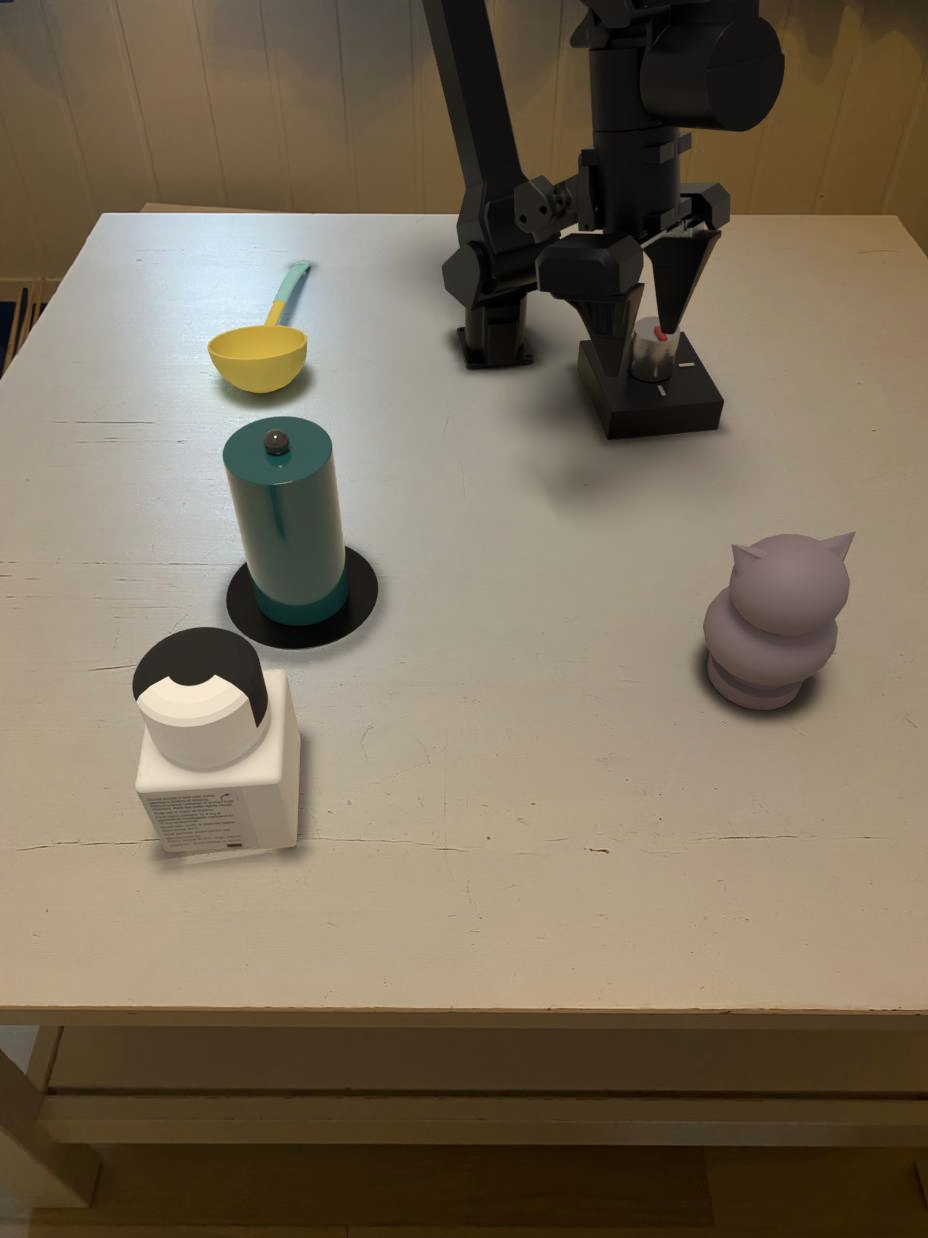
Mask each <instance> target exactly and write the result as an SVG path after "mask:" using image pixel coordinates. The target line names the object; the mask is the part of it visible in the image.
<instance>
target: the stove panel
mask: <svg viewBox="0 0 928 1238" xmlns="http://www.w3.org/2000/svg"><path fill="white" fill-rule="evenodd" d="M631 339H632V337H631ZM578 342H579V343H578V353H577V361H576V370H577V373H578V375H579V377H580V380H581V382H582V384H583V386H584V390H585V391H586V393H587V396H588V398H589V400H590V403H591V405H592V407H593V411H594V412H595V414H596V417H597V419H598V421H599V424H600V426H601V428H602V430H603V433H604V435H605V437H606V439H607V441H614V440H624V439H633V438H643V437H653V436H663V435H670V434H671V435H673V434H681V433H682V434H683V433H692V432H693V433H694V432H701V431H712V430H718V428H719V424H720V419H721V416H722V412H723V408H724V404H725V399H724V398H723V396H722V394H721V393H720V391H719V389H718V387H717V385H716V384H715V382H714V380H713V379H712V377H711V374H709V372H708V371H707V368H706V367H705V365H704V364H703V361H702V360H701V358H700V356H699V354H698V353H697V351H696V350H695V348H694V347H693V345H692V343H691V341H690V340H689V338H688V336H687V335H686V333H685V331H680V337H679V342H678V347H677V352H676V357H675V362H674V367H673V371H672V374H671V376H670V377H669V378H667V379H665V380H663V381H658V382H647V381H642V380H639V379H637V378H635V377H633V376H632V375H631V374H630V373H629V371H628V369H627V364H628V358H629V351H630V345H631V341H630V345H629V349H628V353H627V356H626V360H625V363H624V366H623V369H622V373H621V375H620V376H619V377H608V376H606V375H605V373H604V371H603V368H602V366H601V364H600V361H599V359H598V356H597V354H596V351H595V349H594V346H593V344H592V341H591V339H583V340H579V341H578Z"/></svg>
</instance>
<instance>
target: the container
mask: <svg viewBox="0 0 928 1238" xmlns="http://www.w3.org/2000/svg"><path fill="white" fill-rule="evenodd" d="M131 683H132V687H131V690H132V695H133V698H134V700H135V703H136V705H137V708H138V710H139V712H140V715H141V717H142V721H143V722H144V724H145V725H144V731H143V736H142V742H141V748H140V754H139V761H138V767H137V773H136V777H135V778H136V779H135V783H134V784H135V785H134V788H135V792H136V794H137V796H138V798H139V800H140V803H141V804H142V806H143V809H144V810H145V812H146V814H147V817H148V819H149V821H150V823H151V825H152V827H153V829H154V831H155V833H156V835H157V837H158V840H159V842H160V844H161V845H162V848H163V850H164V851H165V852H168V853H179V852H190V851H191V852H192V851H203V850H204V851H206V850H218V849H219V850H220V849H226V850H221V851H219V853H226V852H227V853H228V852H241V851H254V850H257V851H258V850H270V849H285V848H292V847H295V846H296V845H297V844H298V839H297V838H298V826H299V825H298V823H299V798H300V797H299V793H300V768H301V766H300V765H301V764H300V763H301V734H300V730H299V724H298V720H297V715H296V711H295V706H294V701H293V696H292V692H291V688H290V683H289V678H288V673H287V672H286V670H285V669H282V668H273V669H270V668H269V669H263V668H262V665H261V660H260V657H259V654H258V652H257V650H256V648H255V647H254V646H253V645H252V644H251V642H250V641H249V640H248V639H246V638H245V637H244V636H242V635H241V634H239V633H236V632H234V631H231V630H229V629H226V628H225V629H224V628H220V627H214V626H198V627H197V626H196V627H192V628H186V629H183V630H179V631H177V632H174V633H172V634H170V635H168V636H165V637H164V638H162V639H161V640H159V641H158V642H157V643H155V644H154V645H153V646H152V647H151V648H150V649H149V650H148V651H147V652H146V653H145V654H144V656H143V657H142V658H141V660H140V661H139V662H138V664H137V666H136V668H135V670H134V674H133V676H132V682H131ZM231 848H232V849H231ZM234 848H235V849H234ZM236 848H237V849H236ZM212 853H213V854H214V853H216V851H214V852H212Z"/></svg>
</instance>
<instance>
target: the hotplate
mask: <svg viewBox="0 0 928 1238" xmlns="http://www.w3.org/2000/svg"><path fill="white" fill-rule="evenodd" d="M345 554H346V562H347V570H348V579H349V595H348V598H347V600H346V602H345V604H344V605H343V606H342V608H341V609H340V610H339V611H338V612H336V613H335V614H334V615H333V616H331V617H329V618H328V619H326V620H324V621H321V622H319V623H315V624H312V625H306V626H290V625H284V624H280V623H278V622H275V621H273V620H271V619H269V618H268V617H267V616H265V615H264V614H263V613H262V612H261V610H260V609H259V607H258V605H257V603H256V600H255V595H254V591H253V587H252V582H251V578H250V574H249V570H248V565H247V561H245V562H244V563H243V564H241V566H239V568H238V569H237V570H236V572H235V573H234V575H233V576H232V577H231V579H230V581H229V584H228V587H227V591H226V599H225V604H226V611H227V613H228V617H229V618H230V621H231V622H232V624H233V625H234V626H235V627H236V629H238V631H240V632H241V634H242V635H243V636H246V637H247V638H248V639H250V640H251V641H253V642H255V643H258V644H260V645H263V646H265V647H269V648H274V649H278V650H286V651H303V650H310V649H311V650H312V649H317V648H320V647H324V646H327V645H330V644H333V643H335V642H338V641H340V640H341V639H344V638H345V637H347V636H349V635H350V634H352V633H353V632H355V631H356V630H357V629H358V628H359V627H361V626H362V625H363V624H364V623H365V621H367V619H368V618H369V617H370V615H371V614H372V612H373V610H374V609H375V606H376V604H377V600H378V597H379V582H378V577H377V574H376V573H375V570H374V568H373V566H372V565H371V564H370V562H369V561H368V560H367V559H366V558H365V557H364V556H363V555H362V554H360V553H359V552H358V551H356V550H355V549H353V548H351V547H349V546H346V545H345Z"/></svg>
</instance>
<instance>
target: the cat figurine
mask: <svg viewBox="0 0 928 1238" xmlns="http://www.w3.org/2000/svg"><path fill="white" fill-rule="evenodd" d="M856 533H857V531H856V530H855V531H852V532H851V531H850V532H848V533H844V534H840V535H836V536H833V537H829V538H825V539H821V540H819V539H817V538H814V537H812V536H809V535H804V534H798V533H781V534H776V535H770V536H767V537H764V538H763V539H760V540H759V541H756V542H754V543H752V544H751V545H749V546H746V545H740V544H735V543H731V544H730V545H731V550H732V556H733V561H734V564H733V566H732V570H731V573H730V576H729V581H728V586H726V587H724V588H723V589H722V590H721V591H720V592H719V593H718V594H717V595H716V596H715V597H714V599H712V600H711V602H710V603H709V605H708V607H707V608H706V612H705V616H704V620H703V623H702V630H703V635H704V640H705V644H706V645H705V646H706V648H707V649H708V651H709V655H708V659H707V663H706V670H707V674H708V678H709V680H710V682H711V684H712V686H713V687H714V688H715V690H716V691H718V693H720V695H722V696H723V697H724V698H725V699H726V700H728V701H730V702H732V703H734V704H736V705H738V706H739V707H743V708H747V709H750V710H753V711H772V710H776V709H779V708H782V707H785V706H786V705H788V704H789V703H791V702H792V701H794V699H795V698H796V696H797V694H799V691H800V689H801V687H802V685H803V683H804V681H805V680H806V679H808V678H810V677H811V676H813V675H815V674H816V673H818V672H819V671H820V670H821V669H823V668H824V667H825V666H826V664H827V662H828V661H829V660H830V658H831V657H832V655H833V654H834V653H835V650H836V647H837V640H838V633H839V628H838V624H837V622H836V618H837V617H838V616H839V615H840V613H841V611H843V609H844V608H845V606H846V604H847V602H848V599H849V592H850V584H851V582H850V581H851V580H850V576H849V573H848V570H847V567H846V564H845V563H844V561H845V560H846V557H847V555H848V552H849V549H850V547H851V545H852V542H853V541H854V538H855V535H856Z"/></svg>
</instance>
